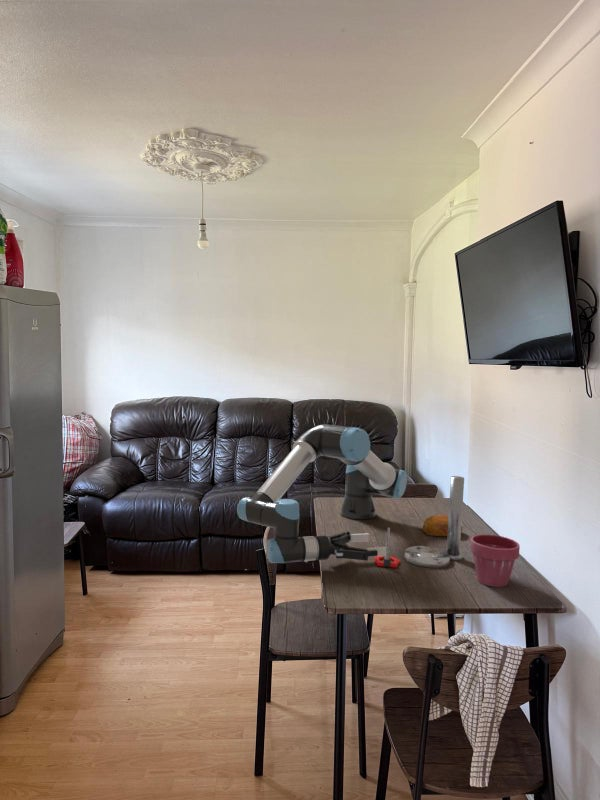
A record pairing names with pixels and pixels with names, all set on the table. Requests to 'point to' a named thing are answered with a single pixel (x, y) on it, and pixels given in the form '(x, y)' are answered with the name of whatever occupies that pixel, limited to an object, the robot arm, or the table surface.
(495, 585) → the plant pot
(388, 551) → the tow hook
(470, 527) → the table surface
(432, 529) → the croissant
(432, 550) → the paper towel holder
